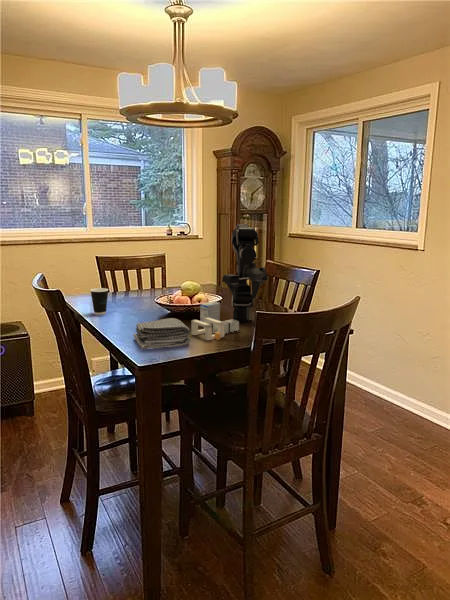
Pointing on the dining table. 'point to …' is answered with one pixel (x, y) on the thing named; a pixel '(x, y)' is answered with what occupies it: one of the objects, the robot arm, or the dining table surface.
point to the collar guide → (208, 328)
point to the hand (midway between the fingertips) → (245, 299)
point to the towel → (162, 333)
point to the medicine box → (210, 311)
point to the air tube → (228, 326)
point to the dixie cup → (99, 300)
